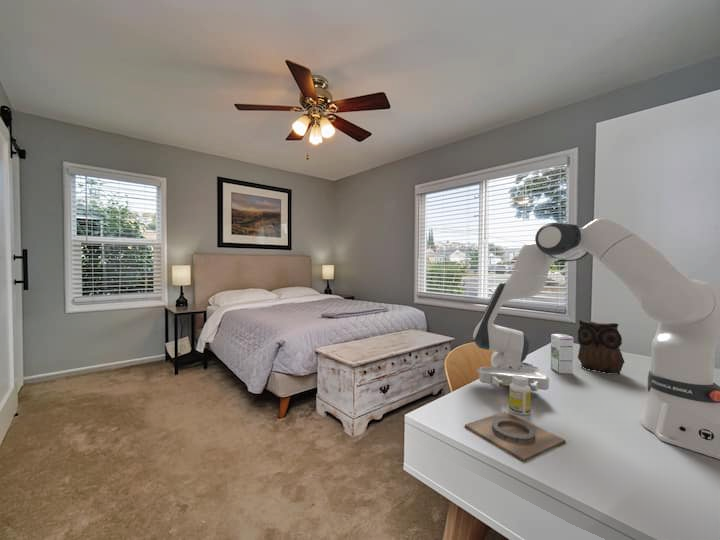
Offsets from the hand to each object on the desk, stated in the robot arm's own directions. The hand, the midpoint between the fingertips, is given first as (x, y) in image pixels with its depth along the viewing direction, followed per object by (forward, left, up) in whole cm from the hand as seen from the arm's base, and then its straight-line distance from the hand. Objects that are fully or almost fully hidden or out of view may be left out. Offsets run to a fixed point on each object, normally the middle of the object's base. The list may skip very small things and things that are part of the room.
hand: (517, 386), depth 93 cm
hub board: (-10, +16, -5) cm, 20 cm away
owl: (+5, -63, -6) cm, 63 cm away
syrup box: (+11, -45, -6) cm, 46 cm away
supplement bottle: (-3, +3, -6) cm, 7 cm away
